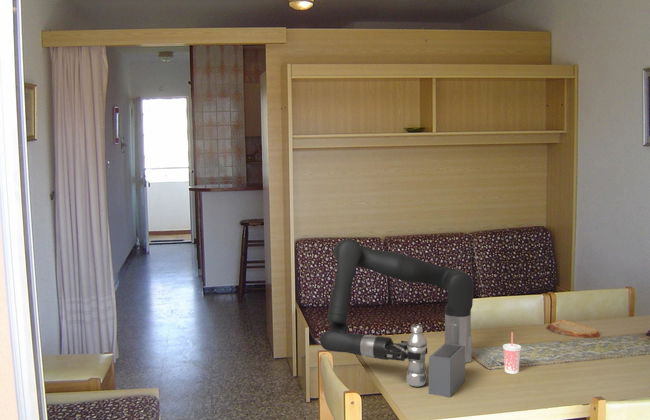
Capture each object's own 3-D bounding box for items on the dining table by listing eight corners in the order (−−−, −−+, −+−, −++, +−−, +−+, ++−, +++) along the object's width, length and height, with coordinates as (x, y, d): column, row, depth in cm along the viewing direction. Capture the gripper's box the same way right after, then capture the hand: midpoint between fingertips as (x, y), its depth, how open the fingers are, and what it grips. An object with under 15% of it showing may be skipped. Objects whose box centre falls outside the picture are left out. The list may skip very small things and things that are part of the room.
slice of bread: (603, 338, 268) (603, 329, 268) (558, 339, 268) (558, 330, 268) (585, 326, 286) (585, 317, 286) (543, 326, 286) (543, 318, 286)
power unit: (464, 380, 223) (465, 345, 222) (450, 397, 209) (450, 359, 208) (443, 377, 226) (443, 342, 225) (427, 393, 212) (427, 355, 211)
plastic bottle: (404, 382, 222) (404, 323, 220) (424, 381, 223) (424, 323, 221) (408, 389, 216) (408, 329, 214) (428, 388, 216) (429, 328, 214)
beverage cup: (511, 375, 227) (511, 335, 226) (498, 370, 233) (499, 331, 231) (524, 372, 230) (525, 332, 228) (512, 367, 235) (512, 328, 234)
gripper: (367, 341, 218) (415, 348, 210) (384, 330, 231) (431, 336, 223) (367, 364, 219) (415, 371, 211) (384, 351, 232) (431, 358, 224)
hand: (423, 353), depth 217 cm, fingers closed on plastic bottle, 6 cm apart
